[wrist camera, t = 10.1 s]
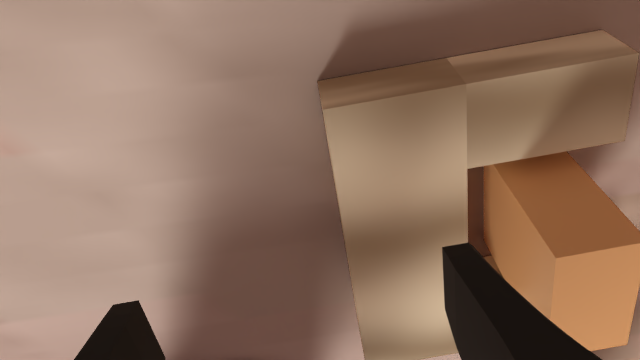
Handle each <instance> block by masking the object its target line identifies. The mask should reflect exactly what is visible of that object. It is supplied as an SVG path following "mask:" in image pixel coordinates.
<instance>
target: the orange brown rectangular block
mask: <svg viewBox="0 0 640 360" xmlns="http://www.w3.org/2000/svg"><path fill="white" fill-rule="evenodd" d="M484 241H485V243H486V245H487V247H488V249H489V251H490V253H491V255H492V257H493V258H494V260H495V262H496V264H497V266H498V268H499V270H500V272H501V274H502V275H503V277H504V279H505V280H506V281H507V282H508V283H509V284H510V285H511V286H512V287H513V288H514V289H515V290H516V291H517V292H519V293H520V294H521V295H522V296H523V297H524V298H525V299H526V300H527V301H528V302H530V303H531V304H532V305H533V306H534V307H535V308H536V309H537V310H539V311H540V312H541V313H542V314H543V315H544V316H546V317H547V318H548V319H549V320H550V321H552V322H553V323H554V324H555V325H556V326H558V327H559V328H560V329H561V330H563V331H564V332H565V333H566V334H568V335H569V336H570V337H572V338H573V339H574V340H576V341H577V342H578V343H580V344H581V345H582V346H584V347H585V348H586V349H588V350H589V351H595V350H600V349H606V348H611V347H617V346H622V345H627V343H628V338H629V333H630V328H631V324H632V319H633V314H634V309H635V305H636V300H637V295H638V290H639V285H640V231H639V230H638V229H637V228H636V227H635V226H634V225H633V224H632V223H631V221H630V220H629V219H628V218H627V217H626V216H625V215H624V214H623V213H622V212H621V211H620V209H619V208H618V207H617V206H616V205H615V204H614V203H613V202H612V201H611V200H610V198H609V197H608V196H607V195H606V194H605V193H604V192H603V191H602V190H601V189H600V188H599V186H598V185H597V184H596V183H595V182H594V181H593V180H592V179H591V178H590V177H589V176H588V174H587V173H586V172H585V171H584V170H583V169H582V168H581V167H580V166H579V165H578V163H577V162H576V161H575V160H574V159H573V158H572V157H571V156H570V155H569V154H568V153H567V151H565V152H560V153H554V154H548V155H543V156H537V157H532V158H526V159H520V160H515V161H509V162H503V163H498V164H492V165H486V166H484Z"/></svg>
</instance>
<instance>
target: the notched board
mask: <svg viewBox="0 0 640 360" xmlns="http://www.w3.org/2000/svg"><path fill="white" fill-rule="evenodd" d="M638 59H639V52H637V51H635V50H634V49H632V48H631V47H629V46H627V45H626V44H624V43H623V42H621V41H619V40H618V39H616V38H615V37H613V36H611V35H610V34H608V33H607V32H605V31H603V30H599V31H593V32H588V33H582V34H577V35H571V36H565V37H560V38H554V39H549V40H543V41H538V42H532V43H526V44H521V45H515V46H510V47H504V48H499V49H493V50H488V51H482V52H476V53H471V54H465V55H460V56H454V57H449V58H443V59H437V60H432V61H426V62H421V63H415V64H410V65H404V66H398V67H393V68H387V69H382V70H376V71H371V72H365V73H360V74H354V75H348V76H343V77H337V78H332V79H326V80H321V81H317V83H318V89H319V95H320V101H321V107H322V113H323V118H324V124H325V130H326V136H327V142H328V148H329V154H330V160H331V166H332V172H333V178H334V184H335V189H336V195H337V201H338V207H339V213H340V219H341V225H342V231H343V237H344V243H345V249H346V254H347V260H348V266H349V272H350V278H351V284H352V290H353V296H354V302H355V308H356V314H357V319H358V325H359V331H360V336H361V342H362V347H363V352H364V358H365V360H420V359H425V358H431V357H437V356H443V355H448V354H454V353H459V352H458V350H457V347H456V344H455V341H454V338H453V335H452V331H451V328H450V325H449V321H448V318H447V315H446V311H445V303H444V280H443V258H442V247H446V246H451V245H457V244H463V243H468V192H467V169H470V168H475V167H481V166H486V165H492V164H498V163H503V162H509V161H515V160H520V159H526V158H532V157H537V156H543V155H548V154H554V153H560V152H565V151H571V150H577V149H582V148H588V147H594V146H599V145H605V144H611V143H616V142H622V141H625V136H626V130H627V124H628V118H629V112H630V106H631V100H632V94H633V88H634V83H635V77H636V71H637V65H638ZM483 258H484V259H485V260H486V261H487V262H488V263H489V264H490V265H491V266H492V267H493V268H494V269H495V270H496V271H497V272H498V273H499V274H500V275H501V276H502V277H503V275H502V274H501V272H500V270H499V268H498V266H497V264H496V262H495V260H494V258H493V257H492V256H486V257H483ZM503 278H504V277H503Z"/></svg>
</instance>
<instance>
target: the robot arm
mask: <svg viewBox="0 0 640 360" xmlns="http://www.w3.org/2000/svg"><path fill="white" fill-rule="evenodd" d="M442 258H443V280H444V303H445V311H446V315H447V318H448V321H449V325H450V328H451V331H452V335H453V338H454V341H455V344H456V347H457V350H458V352H459V355H460V357H461V359H462V360H602V359H600V358H599V357H598V356H596V355H595V354H593V353H592V352H591V351H589V350H588V349H586V348H585V347H584V346H582V345H581V344H580V343H578V342H577V341H576V340H574V339H573V338H572V337H570V336H569V335H568V334H566V333H565V332H564V331H563V330H561V329H560V328H559V327H558V326H556V325H555V324H554V323H553V322H552V321H550V320H549V319H548V318H547V317H546V316H544V315H543V314H542V313H541V312H540V311H539V310H537V309H536V308H535V307H534V306H533V305H532V304H531V303H530V302H528V301H527V300H526V299H525V298H524V297H523V296H522V295H521V294H520V293H519V292H517V291H516V290H515V289H514V288H513V287H512V286H511V285H510V284H509V283H508V282H507V281H506V280H505V279H504V278H503V277H502V276H501V275H500V274H499V273H498V272H497V271H496V270H495V269H494V268H493V267H492V266H491V265H490V264H489V263H488V262H487V261H486V260H485V259H484V258H483V257H482V255H481V254H480V253H479V252H478V251H477V250H476V249H475V248H474V247H473V246H472V245H471V244H469V243H463V244H457V245H451V246H446V247H442ZM74 360H165V356H164V354H163V352H162V350H161V347H160V345H159V343H158V341H157V339H156V337H155V335H154V332H153V330H152V328H151V326H150V324H149V322H148V320H147V318H146V315H145V313H144V311H143V309H142V307H141V305H140V303H139V300H138V301H132V302H127V303H121V304H115V305H113V306H112V307H111V309H110V310H109V311H108V313H107V314H106V315H105V317H104V318H103V319H102V321H101V322H100V324H99V325H98V326H97V328H96V329H95V331H94V332H93V334H92V335H91V336H90V338H89V339H88V341H87V342H86V343H85V345H84V346H83V348H82V349H81V351H80V352H79V353H78V355H77V356H76V358H75V359H74Z"/></svg>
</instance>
